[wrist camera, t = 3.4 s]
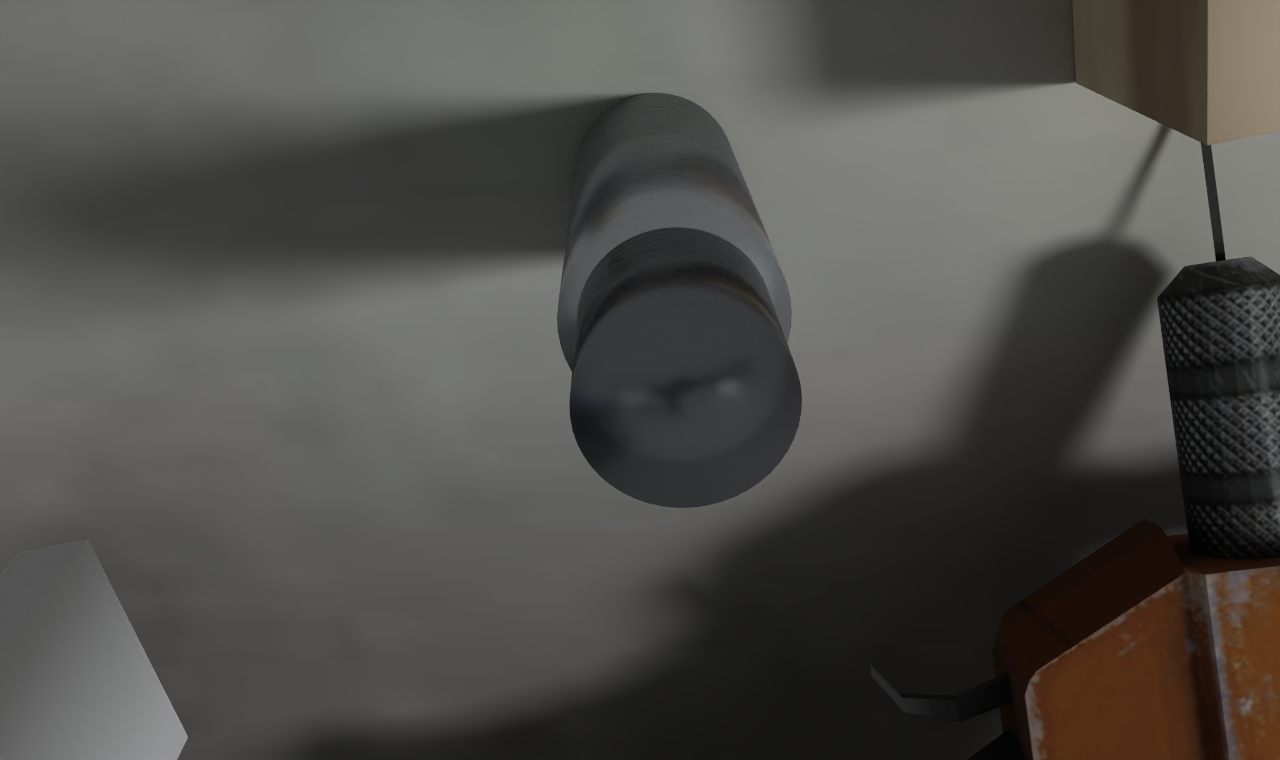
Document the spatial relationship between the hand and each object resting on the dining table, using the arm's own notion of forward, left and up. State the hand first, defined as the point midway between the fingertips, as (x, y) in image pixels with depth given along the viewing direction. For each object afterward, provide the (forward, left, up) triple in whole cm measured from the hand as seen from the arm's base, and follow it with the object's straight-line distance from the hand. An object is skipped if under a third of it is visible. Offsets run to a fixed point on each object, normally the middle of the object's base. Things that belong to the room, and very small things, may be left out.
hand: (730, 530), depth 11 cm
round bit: (0, 0, -15) cm, 15 cm away
